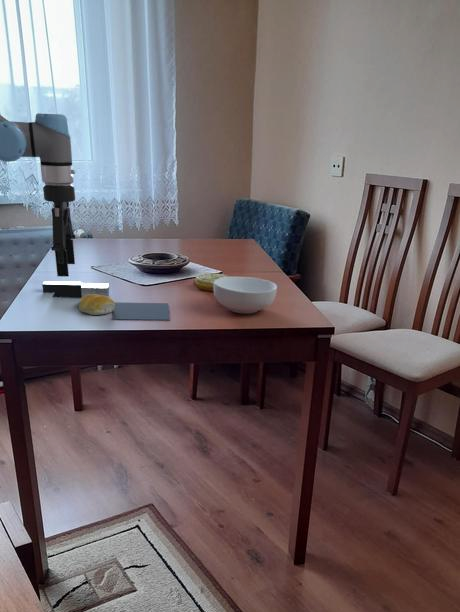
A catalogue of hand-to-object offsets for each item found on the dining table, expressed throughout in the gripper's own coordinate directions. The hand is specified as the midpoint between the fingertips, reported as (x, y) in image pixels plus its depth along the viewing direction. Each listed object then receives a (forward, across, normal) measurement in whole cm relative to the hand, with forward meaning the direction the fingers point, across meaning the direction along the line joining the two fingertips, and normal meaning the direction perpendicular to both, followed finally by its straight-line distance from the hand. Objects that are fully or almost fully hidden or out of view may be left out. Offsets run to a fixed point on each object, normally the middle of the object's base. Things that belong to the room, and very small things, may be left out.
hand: (66, 269), depth 147 cm
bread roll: (+7, -13, -9) cm, 17 cm away
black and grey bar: (+7, 0, -2) cm, 7 cm away
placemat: (+7, -13, -20) cm, 25 cm away
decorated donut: (+8, +11, -41) cm, 43 cm away
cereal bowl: (+8, -10, -47) cm, 48 cm away
